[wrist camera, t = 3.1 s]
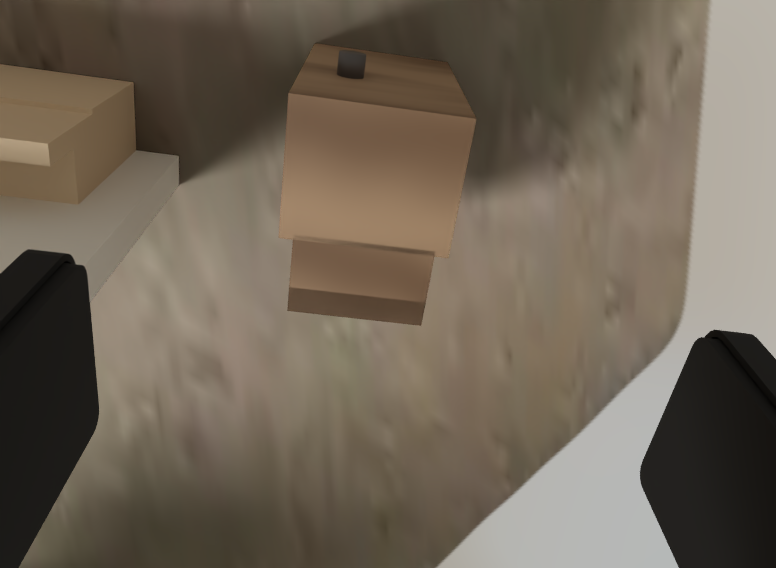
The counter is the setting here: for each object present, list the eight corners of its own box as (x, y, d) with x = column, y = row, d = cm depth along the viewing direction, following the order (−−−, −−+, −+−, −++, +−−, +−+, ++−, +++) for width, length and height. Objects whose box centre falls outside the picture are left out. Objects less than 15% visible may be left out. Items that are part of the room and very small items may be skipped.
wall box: (419, 222, 34) (434, 327, 25) (301, 207, 33) (273, 309, 25) (450, 43, 30) (481, 93, 21) (316, 24, 29) (290, 67, 20)
